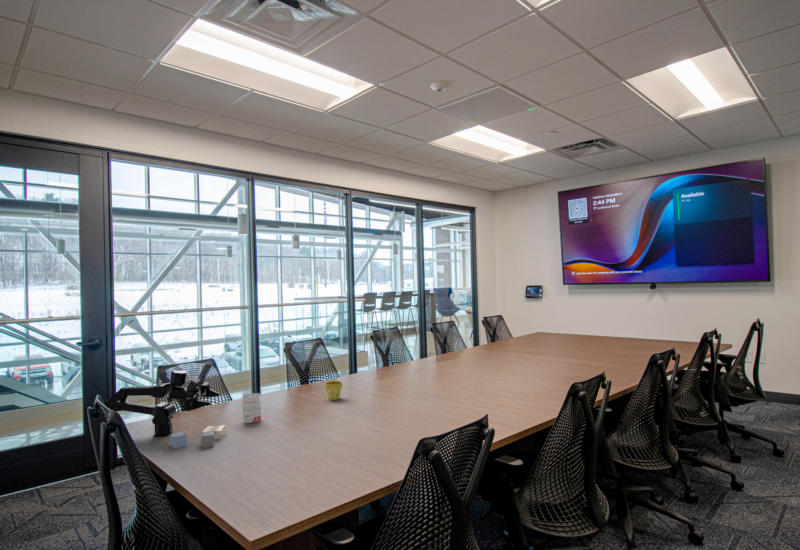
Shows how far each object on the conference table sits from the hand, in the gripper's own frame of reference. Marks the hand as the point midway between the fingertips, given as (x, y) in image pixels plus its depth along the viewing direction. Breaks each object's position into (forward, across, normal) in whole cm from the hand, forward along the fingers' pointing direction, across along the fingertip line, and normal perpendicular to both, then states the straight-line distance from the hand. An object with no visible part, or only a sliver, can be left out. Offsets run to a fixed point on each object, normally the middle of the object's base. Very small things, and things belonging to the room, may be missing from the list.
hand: (214, 399), depth 212 cm
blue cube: (-6, -19, +14) cm, 24 cm away
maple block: (+4, -8, +15) cm, 17 cm away
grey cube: (+6, -18, +12) cm, 22 cm away
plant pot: (+48, +57, +20) cm, 77 cm away
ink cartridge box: (+14, +14, +18) cm, 27 cm away
